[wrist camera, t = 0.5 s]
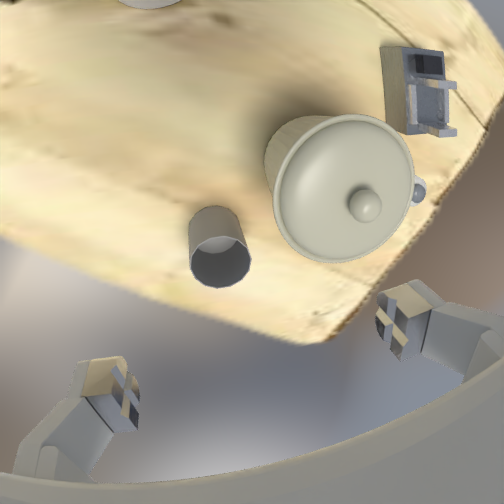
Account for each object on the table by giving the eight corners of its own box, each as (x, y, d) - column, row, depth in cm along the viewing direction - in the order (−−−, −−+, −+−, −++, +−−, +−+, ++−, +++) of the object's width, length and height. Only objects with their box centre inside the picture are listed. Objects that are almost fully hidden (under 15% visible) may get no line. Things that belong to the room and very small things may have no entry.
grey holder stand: (379, 47, 39) (422, 47, 30) (420, 50, 40) (464, 53, 30) (386, 127, 47) (427, 143, 37) (425, 124, 47) (466, 139, 38)
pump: (377, 164, 50) (407, 182, 43) (400, 160, 50) (431, 177, 43) (377, 190, 53) (405, 211, 45) (399, 186, 53) (428, 205, 46)
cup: (238, 202, 49) (249, 232, 41) (241, 247, 54) (253, 283, 45) (184, 210, 48) (184, 241, 40) (192, 254, 53) (194, 291, 44)
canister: (290, 76, 40) (364, 81, 23) (373, 143, 48) (460, 189, 30) (223, 175, 47) (247, 245, 29) (312, 226, 54) (369, 305, 37)
